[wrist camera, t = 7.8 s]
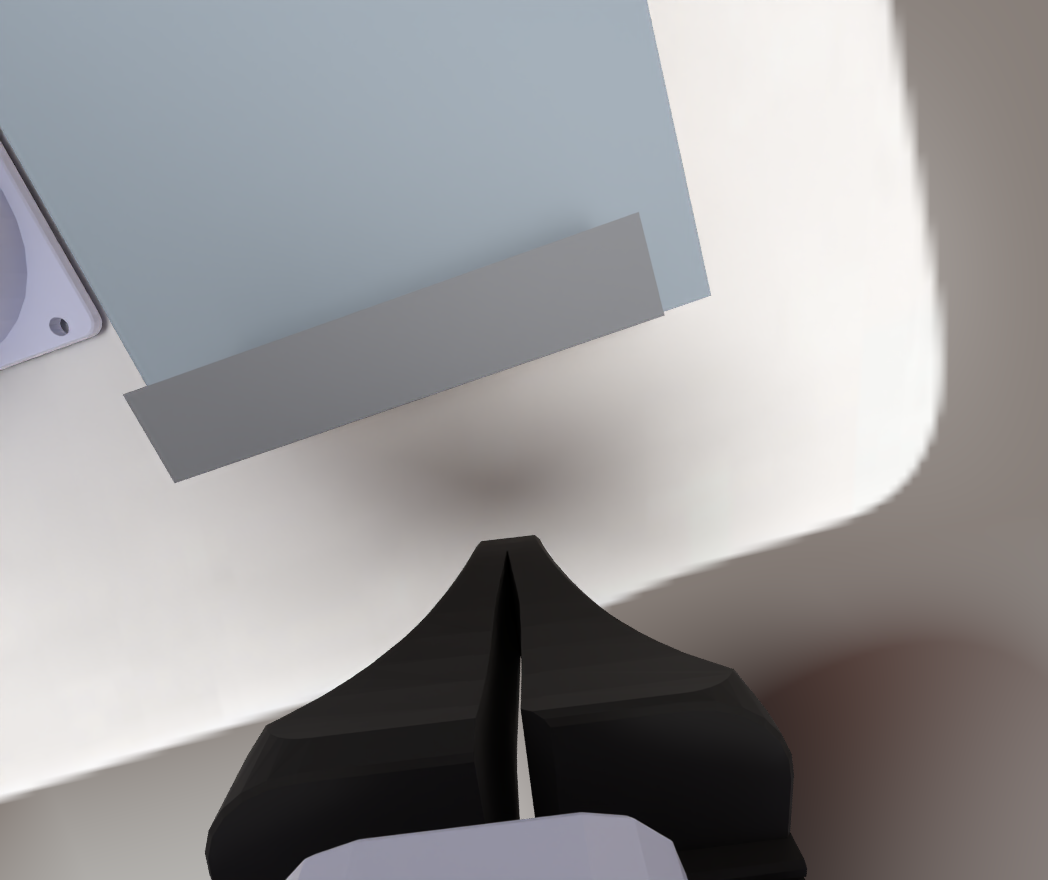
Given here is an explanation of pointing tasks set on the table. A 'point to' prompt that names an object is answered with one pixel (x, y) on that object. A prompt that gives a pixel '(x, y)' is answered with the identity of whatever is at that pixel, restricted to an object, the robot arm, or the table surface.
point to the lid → (347, 195)
